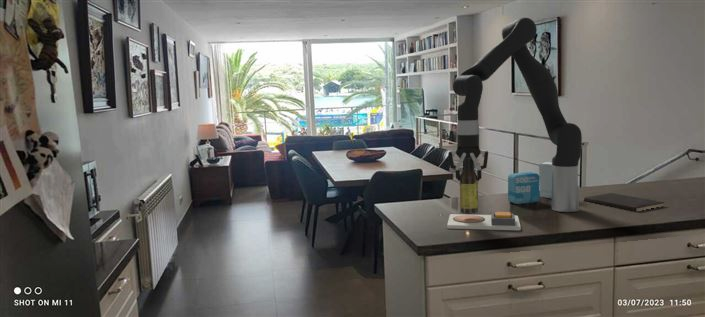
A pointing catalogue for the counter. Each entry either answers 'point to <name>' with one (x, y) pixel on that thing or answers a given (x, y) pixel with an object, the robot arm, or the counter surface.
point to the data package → (523, 188)
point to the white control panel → (483, 222)
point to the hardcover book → (623, 202)
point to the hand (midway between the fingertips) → (468, 180)
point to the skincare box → (545, 179)
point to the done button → (502, 215)
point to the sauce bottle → (468, 188)
